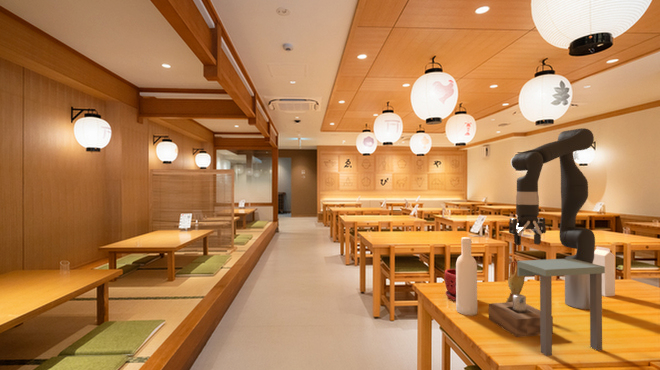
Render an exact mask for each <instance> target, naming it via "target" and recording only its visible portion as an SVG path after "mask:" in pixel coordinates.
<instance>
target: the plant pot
mask: <svg viewBox="0 0 660 370" xmlns="http://www.w3.org/2000/svg"><path fill="white" fill-rule="evenodd" d="M444 284H445V288H446V291H445V296H446V297H447V298H449V299H450V300H452V301H455V302H456V268H449V269H445V270H444Z"/></svg>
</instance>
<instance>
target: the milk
mask: <svg viewBox="0 0 660 370" xmlns="http://www.w3.org/2000/svg"><path fill="white" fill-rule="evenodd" d="M615 257H616V255H615V254H614V253H612V252H611V249H610V248H609V247H604V246H596V245H595V251H594V260H593V264H596V265H600V266H604V267H605V273H602V297H613V296H616V264H615V263H616V258H615Z"/></svg>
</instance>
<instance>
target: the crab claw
mask: <svg viewBox="0 0 660 370" xmlns="http://www.w3.org/2000/svg"><path fill="white" fill-rule="evenodd" d="M514 264H515V265H514ZM508 275H509V276H508V277H507V281H508V282H507V284H508V287H509V289H510V292H509V296H508V297H507V298H506V299H507V300H506V301H505V302H513V294H520V295H521V292H522V289H523V286H524V284H525V278H526V276H517V261H516V260H514V261H510V264H509V274H508Z"/></svg>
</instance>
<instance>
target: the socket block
mask: <svg viewBox="0 0 660 370" xmlns="http://www.w3.org/2000/svg"><path fill="white" fill-rule="evenodd" d="M553 318H554V317H553V315H552V335H553V334H554V333H553V332H554V331H553V330H554V325H553V324H554V323H553V320H554V319H553ZM488 320H489V321H491V322H492V323H494V324H496V325H497V326H498V327H501V328H502V329H503V330H505V331H506V332H508V333H509V334H510V335H512V336H515V337H516V338H521V337H533V336H540V309H538V308H536V307H534V306H531V305H530V304H527V303H526V313H520V314H518V313H516V312H514V311H513V302H506V301H505V302H493V303H492V302H491V303H488Z"/></svg>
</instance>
